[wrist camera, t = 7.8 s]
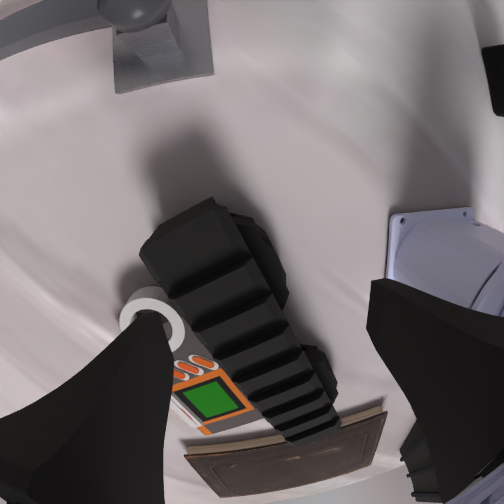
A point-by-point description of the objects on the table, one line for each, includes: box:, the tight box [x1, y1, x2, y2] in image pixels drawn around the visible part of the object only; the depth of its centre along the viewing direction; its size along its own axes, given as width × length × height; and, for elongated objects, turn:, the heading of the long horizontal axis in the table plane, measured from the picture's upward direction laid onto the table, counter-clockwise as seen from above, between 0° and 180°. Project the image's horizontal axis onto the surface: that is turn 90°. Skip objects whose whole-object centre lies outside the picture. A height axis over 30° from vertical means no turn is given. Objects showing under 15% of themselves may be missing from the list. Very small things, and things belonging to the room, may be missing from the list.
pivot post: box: [113, 0, 214, 94], centre depth 11 cm, size 6×6×5 cm
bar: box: [0, 0, 172, 60], centre depth 7 cm, size 3×16×2 cm, turn 86°
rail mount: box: [139, 197, 342, 448], centre depth 19 cm, size 21×6×5 cm, turn 26°
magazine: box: [400, 420, 442, 503], centre depth 28 cm, size 4×13×15 cm, turn 5°
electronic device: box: [119, 286, 264, 435], centre depth 21 cm, size 7×3×15 cm
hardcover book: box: [184, 405, 388, 498], centre depth 29 cm, size 16×23×2 cm
